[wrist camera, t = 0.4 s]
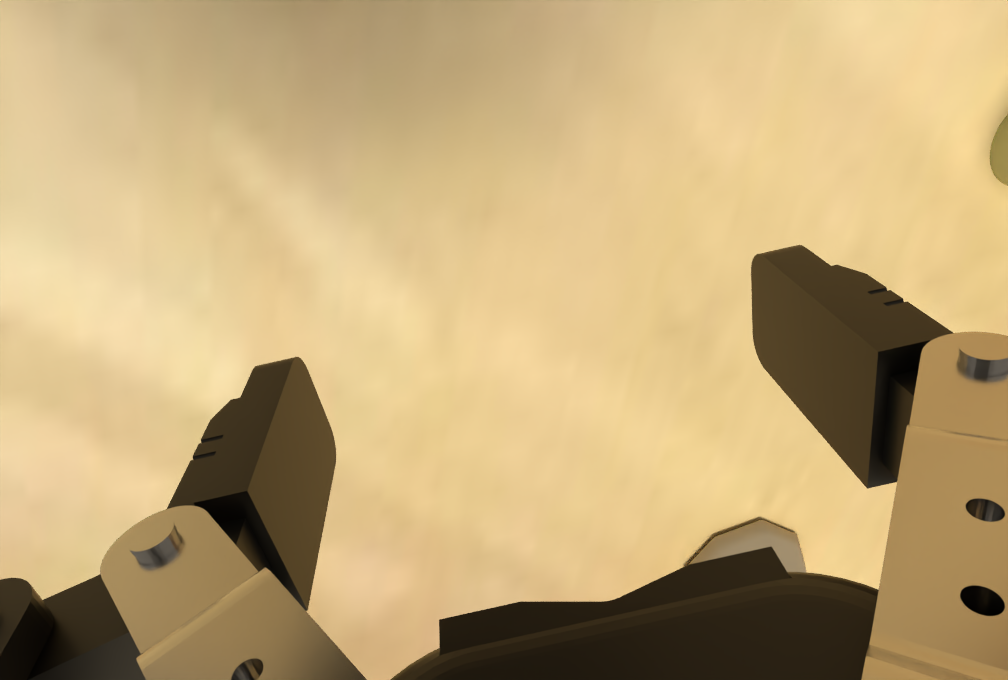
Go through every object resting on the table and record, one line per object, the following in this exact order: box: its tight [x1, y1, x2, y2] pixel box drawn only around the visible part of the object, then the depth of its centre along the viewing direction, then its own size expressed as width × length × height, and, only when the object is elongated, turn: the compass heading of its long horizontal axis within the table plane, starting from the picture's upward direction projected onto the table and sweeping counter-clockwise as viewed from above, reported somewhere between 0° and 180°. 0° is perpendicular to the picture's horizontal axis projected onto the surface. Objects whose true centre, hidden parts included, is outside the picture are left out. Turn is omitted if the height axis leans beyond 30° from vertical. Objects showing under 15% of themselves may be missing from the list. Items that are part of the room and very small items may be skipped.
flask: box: [688, 520, 806, 573], centre depth 37 cm, size 7×7×10 cm
